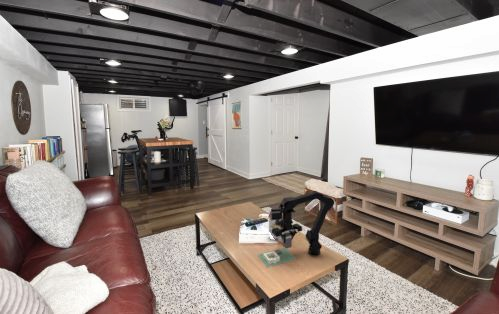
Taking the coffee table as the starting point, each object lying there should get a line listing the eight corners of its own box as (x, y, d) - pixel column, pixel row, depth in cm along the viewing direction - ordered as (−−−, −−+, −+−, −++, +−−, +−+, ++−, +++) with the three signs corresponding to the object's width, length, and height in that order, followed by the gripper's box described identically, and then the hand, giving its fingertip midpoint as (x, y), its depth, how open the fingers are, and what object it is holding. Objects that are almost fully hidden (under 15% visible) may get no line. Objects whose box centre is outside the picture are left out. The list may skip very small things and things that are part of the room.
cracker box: (268, 239, 170) (268, 212, 166) (273, 236, 174) (273, 209, 171) (285, 246, 161) (285, 217, 158) (289, 242, 166) (290, 214, 162)
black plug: (288, 244, 150) (288, 232, 149) (291, 247, 146) (291, 235, 145) (282, 245, 148) (282, 233, 147) (285, 248, 145) (285, 236, 143)
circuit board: (284, 249, 157) (284, 244, 156) (296, 260, 144) (296, 255, 143) (257, 256, 149) (257, 251, 149) (267, 269, 137) (267, 263, 136)
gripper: (293, 211, 155) (292, 234, 158) (267, 216, 148) (267, 239, 151) (303, 218, 145) (302, 241, 148) (276, 223, 138) (276, 248, 141)
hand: (287, 242), depth 147 cm, fingers closed on black plug, 4 cm apart
